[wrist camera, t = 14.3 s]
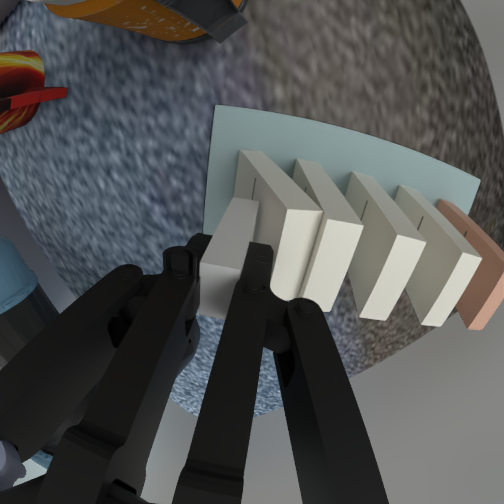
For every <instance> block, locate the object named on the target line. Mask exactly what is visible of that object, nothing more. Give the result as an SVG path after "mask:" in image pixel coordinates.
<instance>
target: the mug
mask: <svg viewBox="0 0 504 504" xmlns="http://www.w3.org/2000/svg"><path fill="white" fill-rule="evenodd" d="M44 81H45V75H44V67H43V63H42V60H41V58H40V56H39V55H38V54H37V53H36V52H34V51H31V50H27V51H14V52H4V53H0V134H2V133H5V132H7V131H10V130H13V129H16V128H18V127H21V126H24V125H26V124H27V123H28V122H29V121H31V119H32V118H33V117H34V115H35V114H36V112H37V110H38V108H39V105H40V103H41V102H44V101H48V100H53V99H58V98H64V97H66V93H67V88H64V87H44Z"/></svg>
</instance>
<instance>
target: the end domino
mask: <svg viewBox="0 0 504 504" xmlns="http://www.w3.org/2000/svg"><path fill="white" fill-rule="evenodd" d="M436 209H437V210H438V211H439V212H440V213H441V214H442V215H443V216H444V217H445V218H446V219H447V220H448V221H449V222H450V223H451V224H452V225H453V226H454V227H455V228H456V229H457V230H458V231H459V232H460V233H461V234H462V236H463V237H464V238H465V239H466V240H467V241H468V242H469V243H470V244H471V246H472V247H473V248H474V249H475V250H476V251H477V252H478V254H479V255H480V256H481V257H482V260H481V262H480V264H479V266H478V267H477V269H476V271H475V273H474V275H473V276H472V278H471V280H470V282H469V283H468V285H467V287H466V289H465V290H464V292H463V294H462V295H461V297H460V298H459V300H458V302H457V303H456V305H455V307H456V308H457V310H458V312H459V314H460V316H461V318H462V320H463V321H464V324H465V326H466V328H467V329H475V330H482V329H483V327H484V326H485V325H486V323H487V322H488V321H489V319H490V318H491V316H492V315H493V313H494V312H495V310H496V309H497V307H498V306H499V304H500V303H501V301H502V299H503V298H504V252H503V251H502V250H501V249H500V248H499V246H498V245H497V244H496V243H495V242H494V241H493V240H492V239H491V238H490V237H489V236H488V235H487V234H486V233H485V232H484V231H483V230H482V229H481V228H480V227H479V226H478V225H477V224H476V223H475V222H474V221H472V220H471V219H470V218H469V217H468V216H467V215H466V214H465V213H464V212H463V211H462V210H460V209H459V208H458V207H457V206H456V205H455V204H454V203H451V202H449V201H446V200H443V199H441V198H440V199H439V202H438V205H437V207H436Z"/></svg>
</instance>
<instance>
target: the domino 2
mask: <svg viewBox="0 0 504 504" xmlns="http://www.w3.org/2000/svg"><path fill="white" fill-rule="evenodd" d="M292 180H293V181H294V182H295V183H296V184H297V185H298V186H299V187H300V188H301V189H302V190H303V191H304V192H305V193H306V194H307V195H308V196H309V197H310V198H311V199H312V200H313V201H314V202H315V203H316V204H317V205H318V206H319V207H320V208H321V209H322V210H323V215H322V218H321V222H320V225H319V229H318V232H317V236H316V239H315V243H314V246H313V249H312V253H311V256H310V259H309V262H308V266H307V269H306V272H305V275H304V278H303V282H302V285H301V288H300V291H299V294H298V297H297V298H299V297H302V298H308V299H310V300H313V301H315V302H316V303H317V304H318V305H319V306H320V307H321V309H322V311H324V312H330V310H331V308H332V306H333V303H334V301H335V299H336V296H337V294H338V292H339V289H340V287H341V284H342V282H343V280H344V277H345V275H346V272H347V270H348V267H349V265H350V262H351V259H352V257H353V254H354V252H355V249H356V246H357V244H358V241H359V238H360V235H361V233H362V230H363V227H364V225H363V223H362V222H361V220H360V219H359V218H358V216H357V215H356V213H355V212H354V210H353V209H352V207H351V206H350V204H349V203H348V202H347V200H346V199H345V197H344V196H343V195H342V193H341V192H340V190H339V189H338V188H337V186H336V185H335V184H334V182H333V181H332V180H331V178H330V177H329V176H328V174H327V173H326V172H325V170H324V169H323V168H322V166H321V165H320V164H319V163H318V162H314V161H309V160H304V159H298V158H297V159H296V164H295V169H294V173H293V178H292Z"/></svg>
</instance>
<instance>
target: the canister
mask: <svg viewBox="0 0 504 504" xmlns="http://www.w3.org/2000/svg"><path fill="white" fill-rule="evenodd" d="M28 1H32V2H40V3H45V5H46V6H47V8H48V9H49V10H50V11H51V12H52V13H54V14H55V15H58V16H61V17H66V18H73V19H79V20H85V21H90V22H95V23H100V24H105V25H109V26H114V27H118V28H122V29H126V30H129V31H133V32H137V33H140V34H144V35H147V36H150V37H153V38H157V39H160V40H163V41H166V42H169V43H175V44H190V43H197V42H200V41H204V40H207V39H209V38H212V37H213V38H214V39H215V40H216V41H218V42H219V43H221V42H222V41H224V40H225V39H226V38H227V37H229V36H230V35H231V34H233V33H234V32H235V31H237V30H238V29H239V28H241V27H242V26H243V25H245V24H246V23H247V22H248V21H247V20H246V19H245V18H244V16H243V15H242V12H243V11H244V9H245V6H246V4H247V1H248V0H28Z"/></svg>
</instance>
